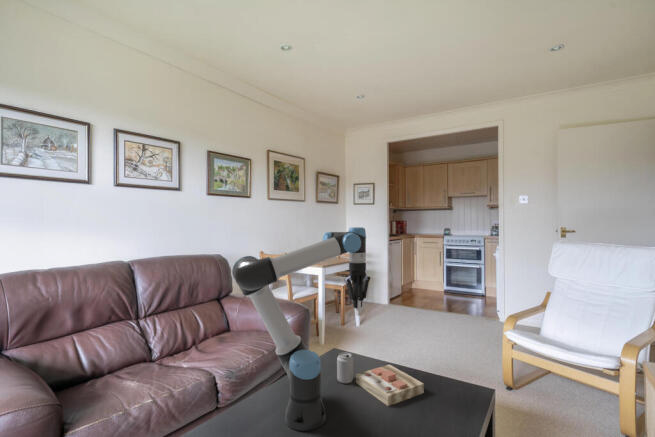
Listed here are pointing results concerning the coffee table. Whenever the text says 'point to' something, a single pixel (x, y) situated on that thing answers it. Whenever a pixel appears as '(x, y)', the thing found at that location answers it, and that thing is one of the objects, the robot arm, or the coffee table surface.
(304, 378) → the robot arm
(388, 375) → the button
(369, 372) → the board
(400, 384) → the button
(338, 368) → the can
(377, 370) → the button
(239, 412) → the coffee table surface
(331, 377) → the coffee table surface
